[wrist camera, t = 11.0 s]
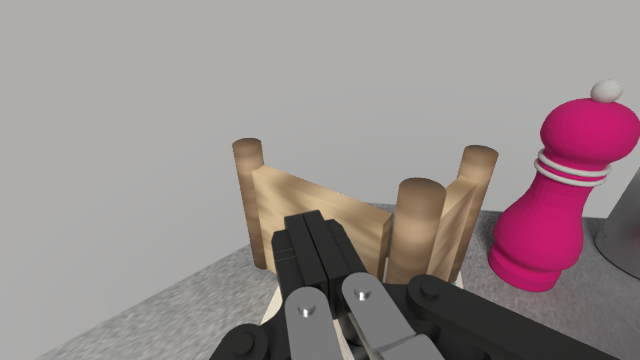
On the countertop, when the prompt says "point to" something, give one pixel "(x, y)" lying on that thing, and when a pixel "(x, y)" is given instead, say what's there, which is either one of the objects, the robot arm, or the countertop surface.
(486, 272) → the countertop surface
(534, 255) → the pepper mill
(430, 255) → the fixed panel
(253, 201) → the swing panel
